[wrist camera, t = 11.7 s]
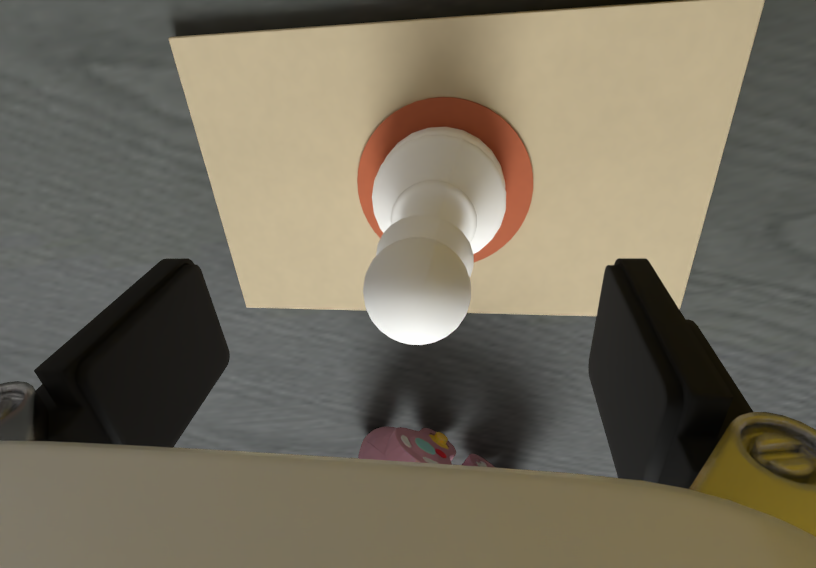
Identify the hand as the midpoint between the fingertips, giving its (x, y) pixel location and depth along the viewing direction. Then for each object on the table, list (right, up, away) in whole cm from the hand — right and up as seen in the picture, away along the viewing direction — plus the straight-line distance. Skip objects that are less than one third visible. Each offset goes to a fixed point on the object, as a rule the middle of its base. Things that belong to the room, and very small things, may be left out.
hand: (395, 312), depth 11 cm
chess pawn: (+2, +5, +8) cm, 9 cm away
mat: (+2, +5, +8) cm, 10 cm away
